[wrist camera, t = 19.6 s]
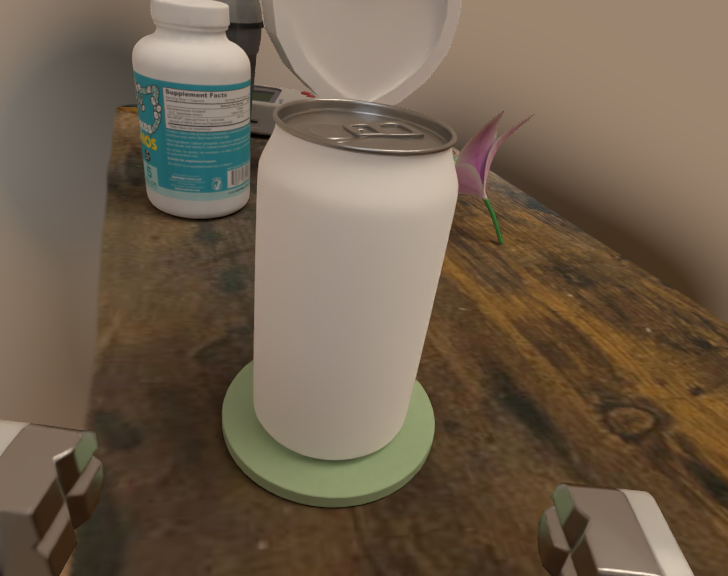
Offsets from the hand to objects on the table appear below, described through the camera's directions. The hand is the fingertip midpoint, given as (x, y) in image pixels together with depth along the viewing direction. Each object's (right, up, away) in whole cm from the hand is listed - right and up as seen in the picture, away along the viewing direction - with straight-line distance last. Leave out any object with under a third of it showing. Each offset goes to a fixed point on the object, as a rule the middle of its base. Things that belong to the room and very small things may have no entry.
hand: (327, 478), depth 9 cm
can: (-1, -2, +13) cm, 13 cm away
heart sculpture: (-1, +13, +38) cm, 41 cm away
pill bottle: (-12, +10, +30) cm, 34 cm away
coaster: (-1, -2, +13) cm, 13 cm away
